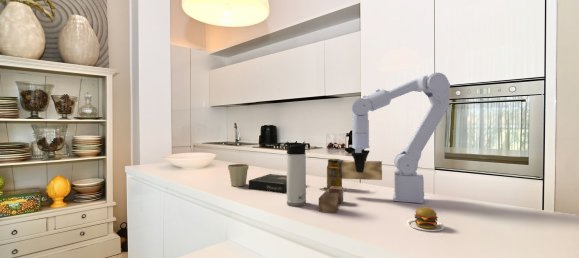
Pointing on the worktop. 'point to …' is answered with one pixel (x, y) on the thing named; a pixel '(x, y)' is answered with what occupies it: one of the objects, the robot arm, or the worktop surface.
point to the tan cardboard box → (331, 199)
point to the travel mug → (296, 175)
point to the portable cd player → (269, 183)
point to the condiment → (332, 174)
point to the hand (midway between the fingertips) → (360, 171)
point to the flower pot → (238, 174)
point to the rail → (370, 172)
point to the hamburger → (426, 219)
